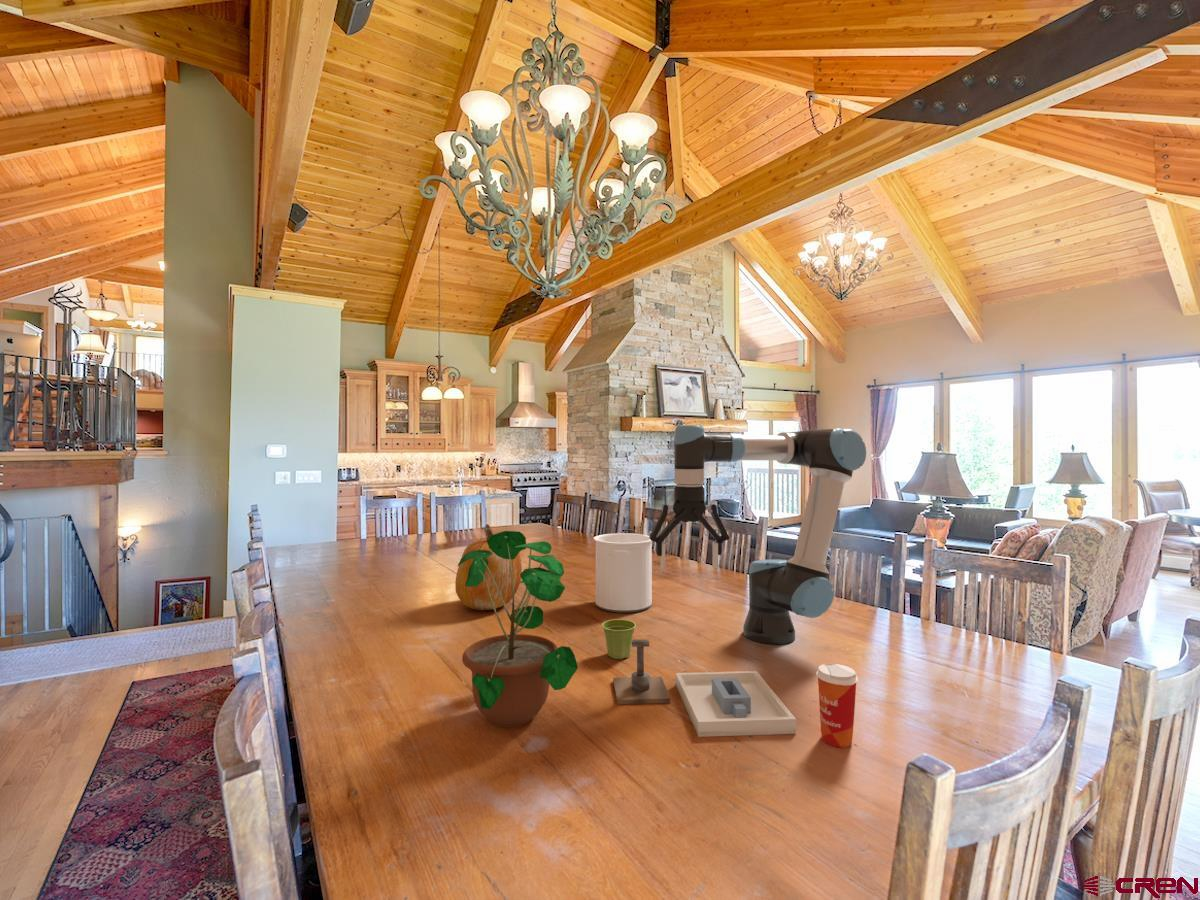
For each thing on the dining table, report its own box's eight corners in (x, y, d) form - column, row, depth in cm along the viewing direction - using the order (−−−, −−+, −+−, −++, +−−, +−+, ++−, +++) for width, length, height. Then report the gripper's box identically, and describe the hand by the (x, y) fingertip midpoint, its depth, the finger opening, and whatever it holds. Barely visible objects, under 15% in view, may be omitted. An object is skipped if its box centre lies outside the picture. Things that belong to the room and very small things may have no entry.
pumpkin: (515, 617, 191) (515, 529, 191) (449, 617, 191) (448, 528, 191) (527, 596, 217) (526, 518, 217) (468, 596, 217) (467, 518, 217)
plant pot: (633, 663, 151) (633, 631, 151) (598, 660, 153) (598, 628, 153) (638, 650, 160) (638, 620, 160) (605, 648, 162) (605, 618, 162)
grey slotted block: (711, 693, 131) (711, 678, 131) (736, 692, 131) (736, 677, 131) (727, 720, 118) (727, 704, 118) (755, 719, 118) (755, 703, 118)
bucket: (598, 594, 219) (598, 531, 219) (654, 596, 216) (654, 532, 216) (588, 614, 194) (588, 543, 193) (651, 617, 191) (651, 544, 190)
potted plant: (535, 767, 103) (534, 551, 102) (426, 725, 118) (425, 537, 117) (619, 701, 129) (619, 528, 128) (521, 674, 144) (521, 519, 144)
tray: (756, 683, 138) (756, 671, 138) (796, 733, 115) (796, 719, 114) (675, 685, 137) (675, 673, 137) (698, 736, 113) (698, 721, 113)
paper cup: (809, 731, 116) (809, 663, 115) (845, 729, 116) (845, 661, 116) (827, 752, 108) (827, 679, 108) (866, 750, 108) (866, 677, 108)
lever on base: (661, 680, 140) (661, 631, 140) (670, 702, 128) (670, 649, 128) (613, 681, 140) (613, 632, 139) (617, 704, 128) (617, 650, 127)
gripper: (732, 484, 149) (732, 564, 150) (638, 484, 148) (638, 565, 148) (741, 486, 142) (741, 570, 142) (642, 486, 140) (642, 572, 141)
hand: (689, 568), depth 145 cm, fingers open, 13 cm apart
